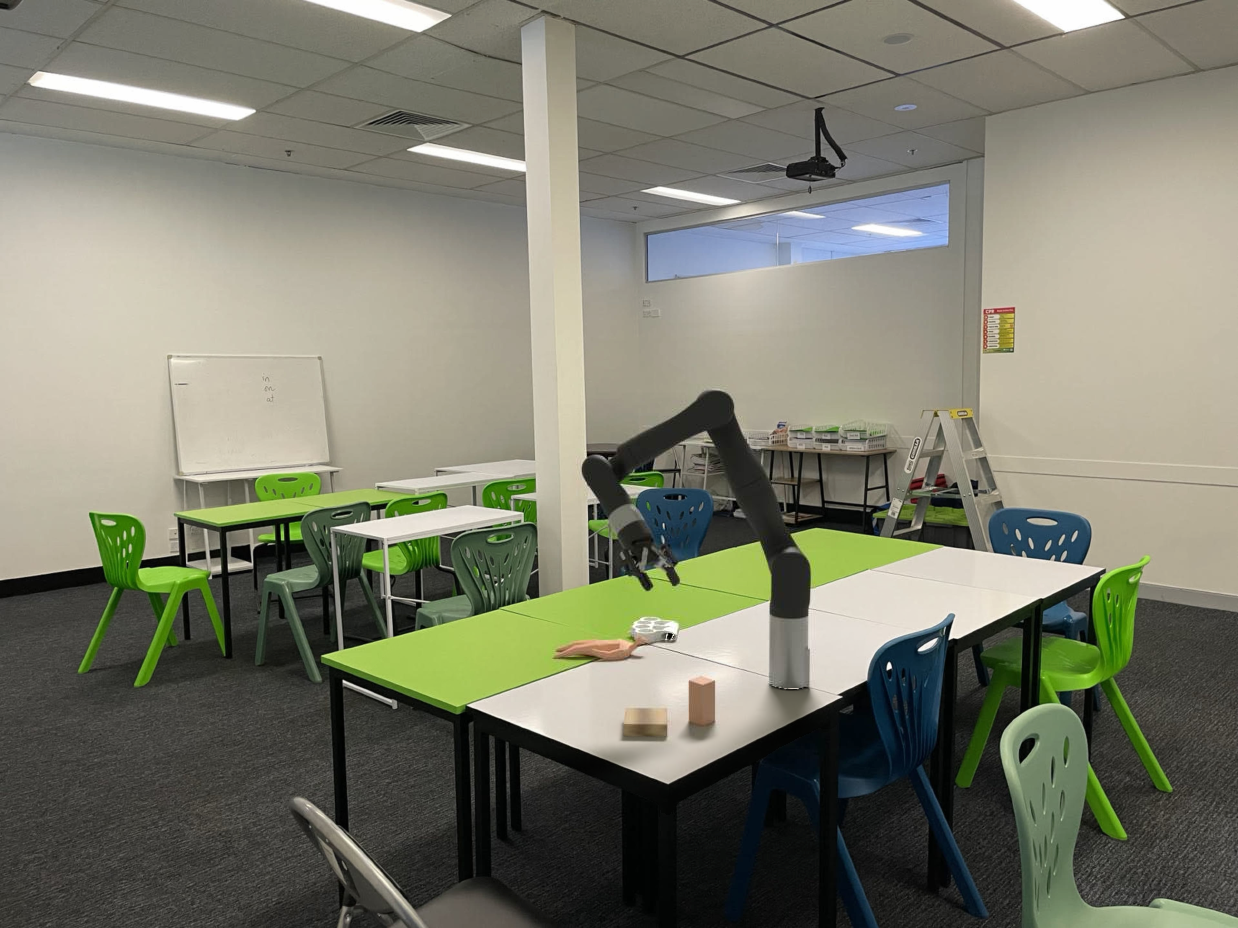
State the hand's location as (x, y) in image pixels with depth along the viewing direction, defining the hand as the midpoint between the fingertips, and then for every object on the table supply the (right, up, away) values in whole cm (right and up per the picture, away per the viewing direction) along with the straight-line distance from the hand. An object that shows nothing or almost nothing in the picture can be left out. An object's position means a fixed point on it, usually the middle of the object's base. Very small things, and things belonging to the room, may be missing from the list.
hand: (663, 586), depth 193 cm
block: (+8, -28, -7) cm, 30 cm away
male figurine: (-15, -25, +41) cm, 51 cm away
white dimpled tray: (0, -23, +60) cm, 64 cm away
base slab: (-4, -29, -10) cm, 31 cm away
